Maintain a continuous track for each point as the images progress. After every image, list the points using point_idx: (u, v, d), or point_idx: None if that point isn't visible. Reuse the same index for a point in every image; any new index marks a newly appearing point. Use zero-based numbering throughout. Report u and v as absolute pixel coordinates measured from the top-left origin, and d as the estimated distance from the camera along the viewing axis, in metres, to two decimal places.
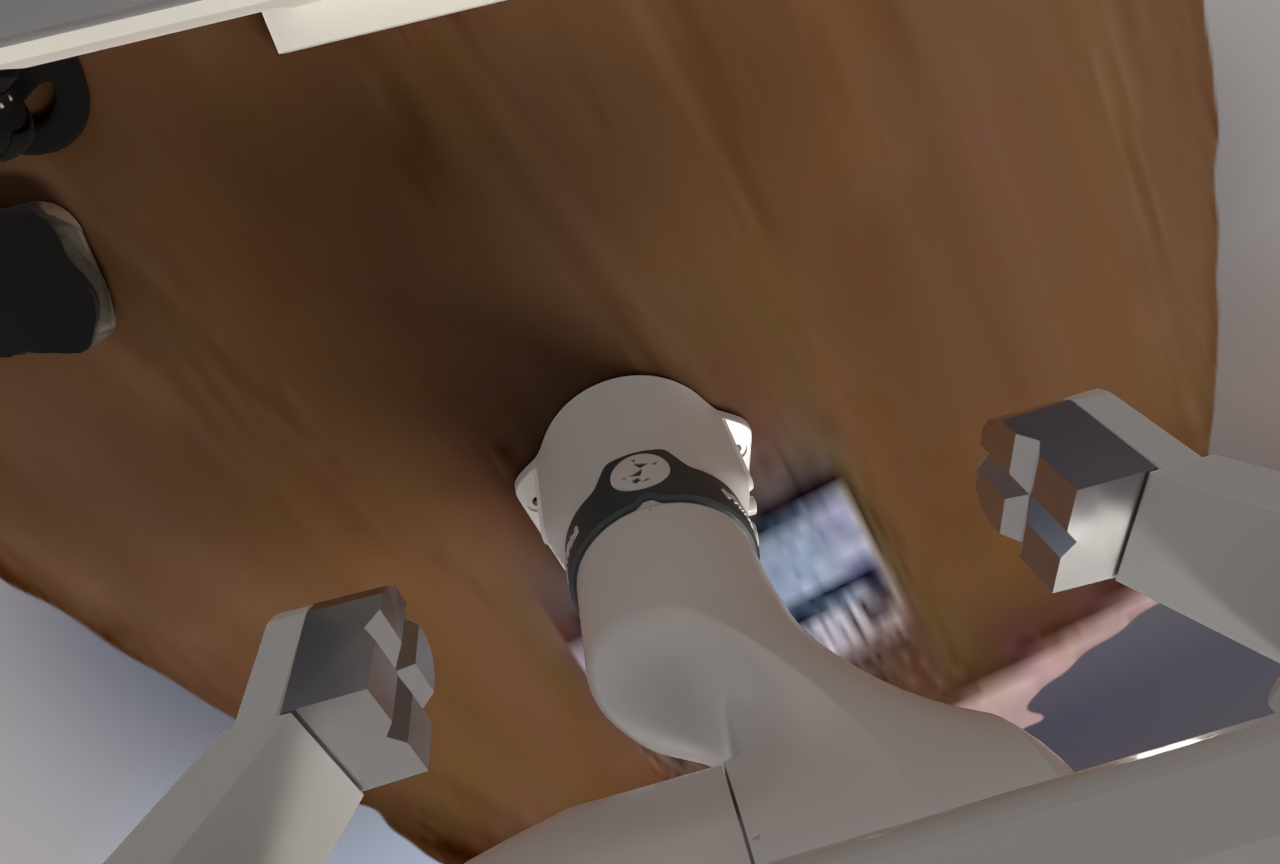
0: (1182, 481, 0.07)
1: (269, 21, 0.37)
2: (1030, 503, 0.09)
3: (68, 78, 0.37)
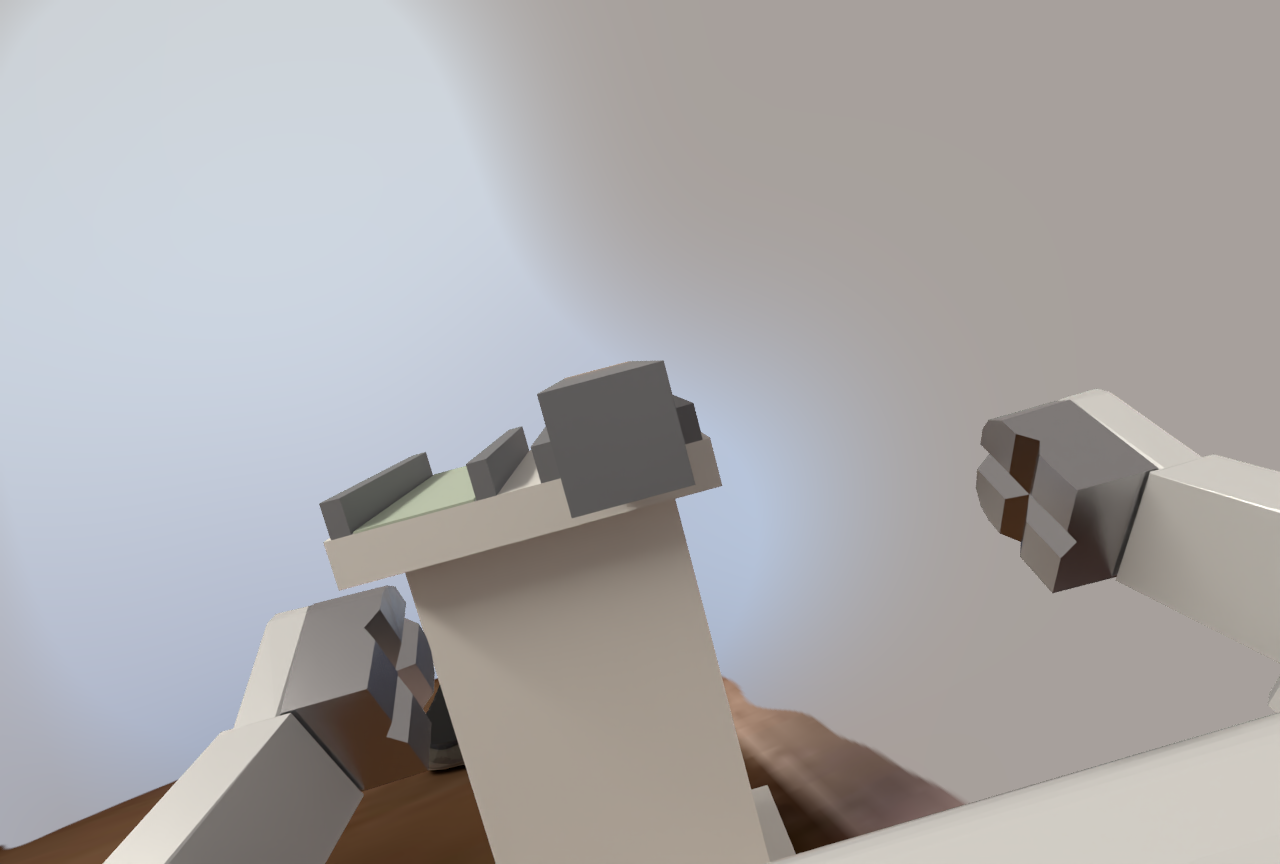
0: (1182, 481, 0.07)
1: None
2: (1030, 503, 0.09)
3: None
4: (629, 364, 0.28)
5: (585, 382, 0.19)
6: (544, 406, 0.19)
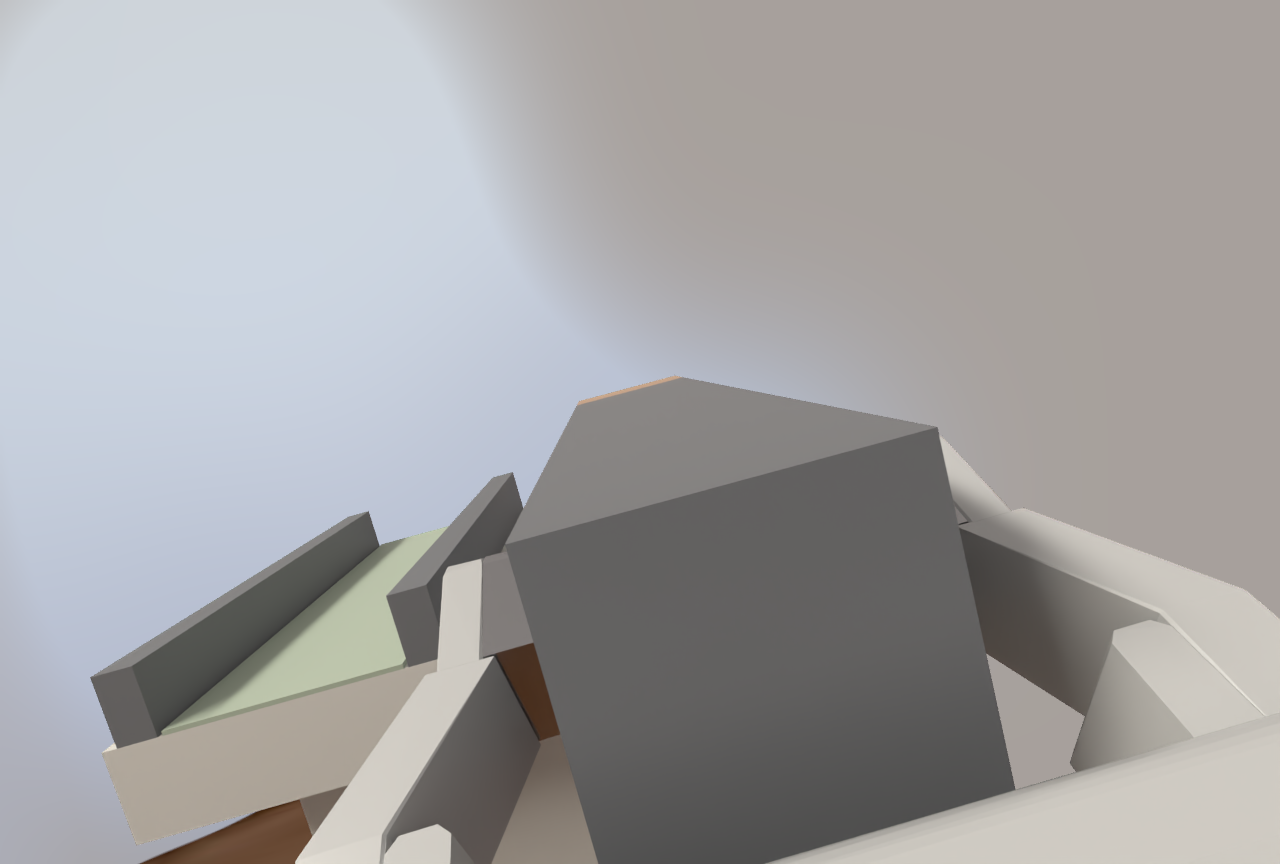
0: (986, 537, 0.07)
1: None
2: None
3: None
4: (709, 393, 0.14)
5: (671, 501, 0.06)
6: (530, 585, 0.06)
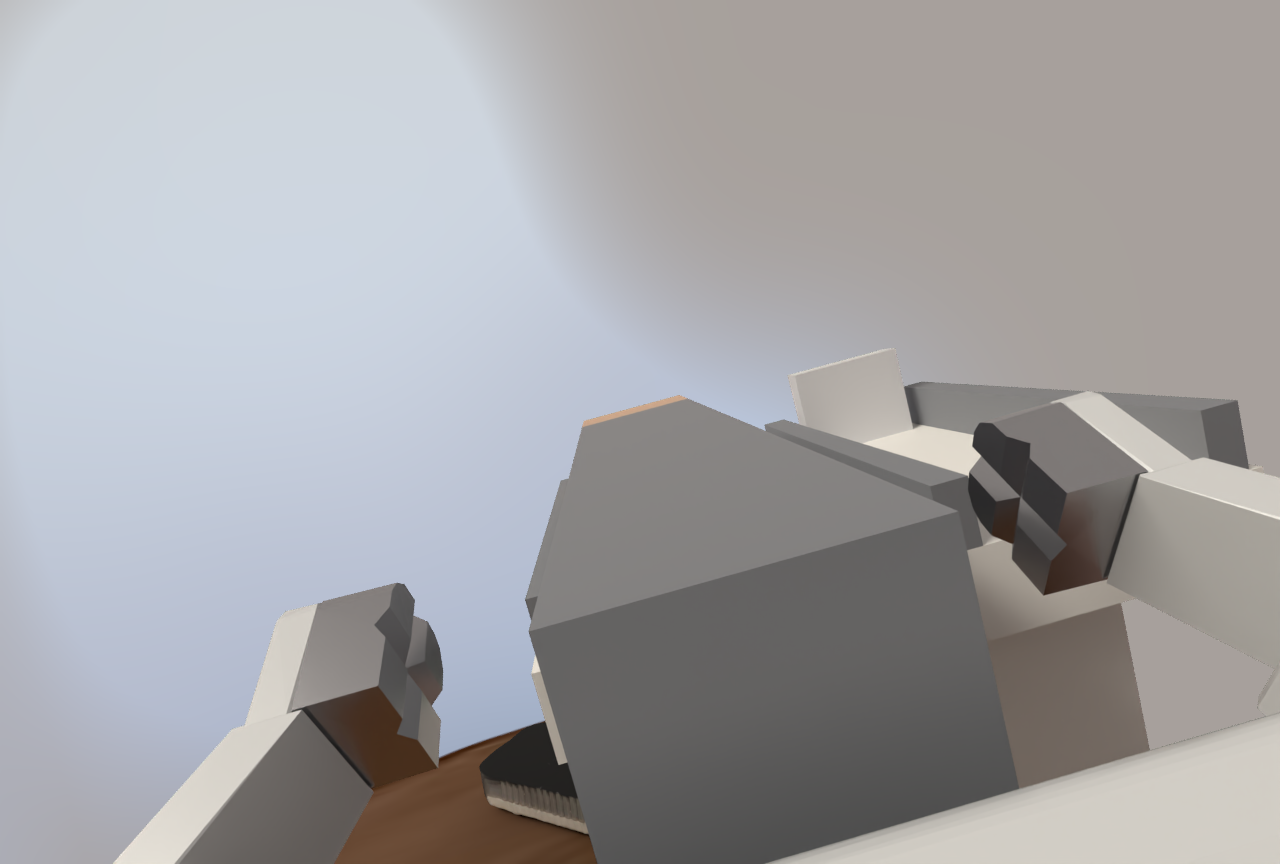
0: (1172, 484, 0.07)
1: None
2: (1021, 506, 0.09)
3: None
4: (718, 428, 0.14)
5: (693, 586, 0.06)
6: (554, 672, 0.06)
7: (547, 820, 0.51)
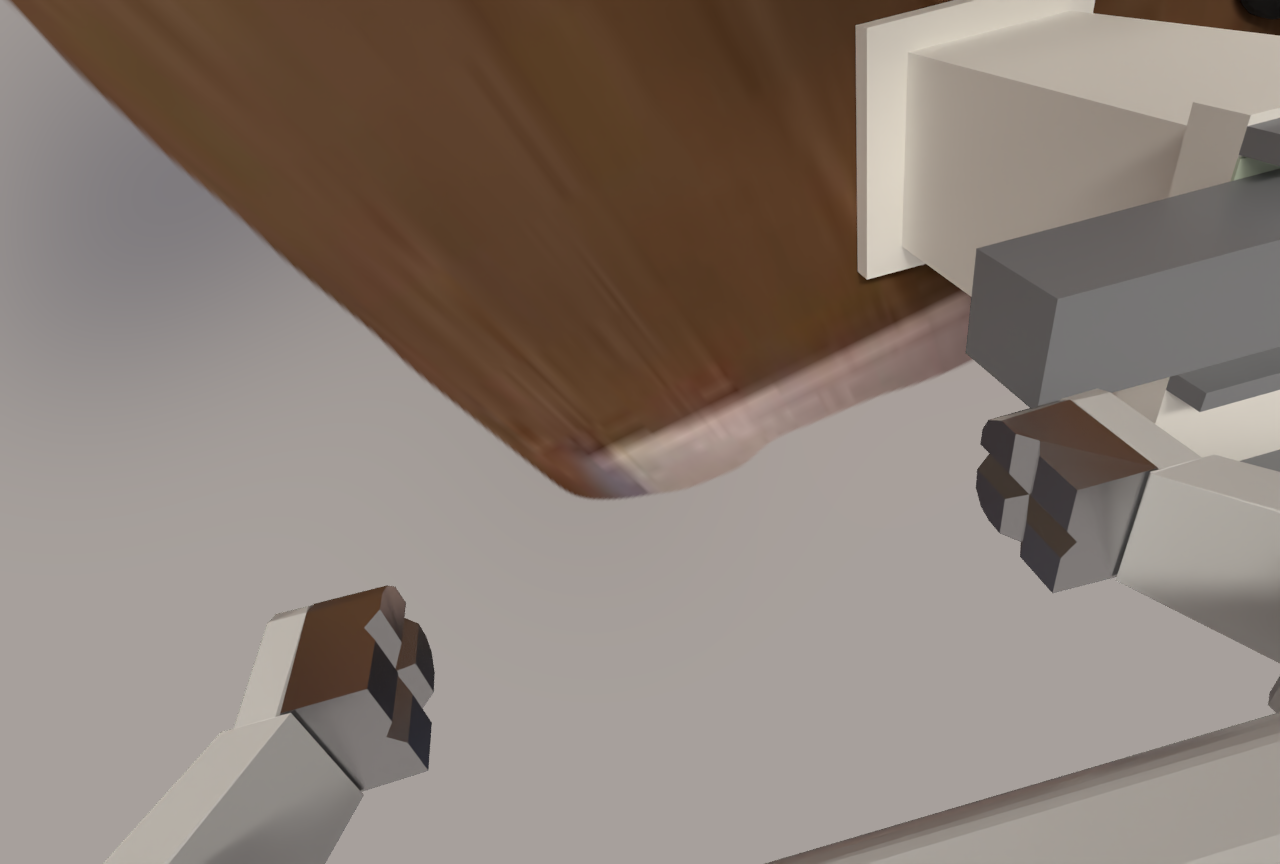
0: (1182, 481, 0.07)
1: None
2: (1030, 503, 0.09)
3: None
4: None
5: (1050, 344, 0.18)
6: (1046, 296, 0.18)
7: None
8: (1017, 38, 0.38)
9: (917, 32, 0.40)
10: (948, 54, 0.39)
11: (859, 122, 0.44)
